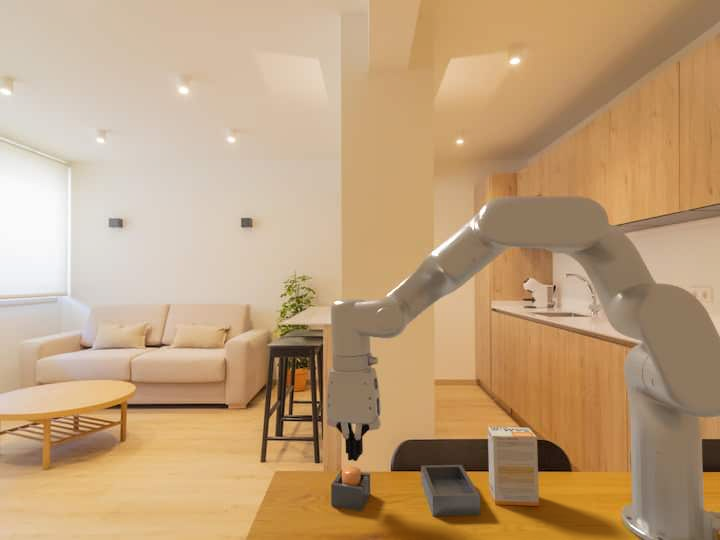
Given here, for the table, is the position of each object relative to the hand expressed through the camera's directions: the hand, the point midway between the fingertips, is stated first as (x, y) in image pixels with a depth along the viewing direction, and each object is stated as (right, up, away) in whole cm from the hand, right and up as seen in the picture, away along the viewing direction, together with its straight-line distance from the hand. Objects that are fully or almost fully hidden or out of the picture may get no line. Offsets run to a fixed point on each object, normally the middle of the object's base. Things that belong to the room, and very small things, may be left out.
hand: (354, 457), depth 75 cm
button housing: (-1, -8, 0) cm, 8 cm away
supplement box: (+31, -8, 0) cm, 32 cm away
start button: (-1, -7, 0) cm, 7 cm away
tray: (+18, -8, 0) cm, 20 cm away
